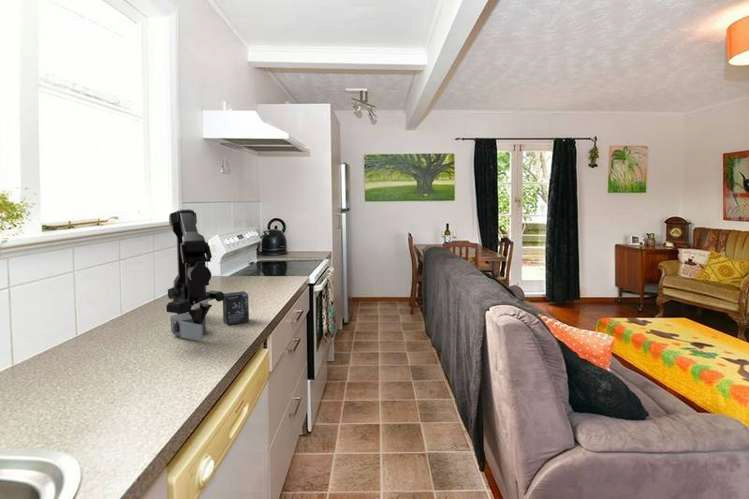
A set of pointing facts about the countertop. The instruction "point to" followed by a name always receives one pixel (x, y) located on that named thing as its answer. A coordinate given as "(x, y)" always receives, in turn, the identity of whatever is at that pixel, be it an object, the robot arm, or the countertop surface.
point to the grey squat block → (185, 318)
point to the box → (235, 308)
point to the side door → (191, 331)
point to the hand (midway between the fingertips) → (198, 328)
